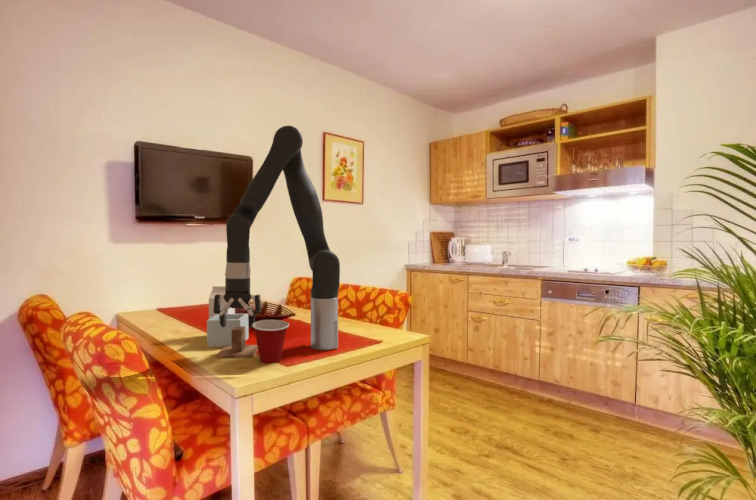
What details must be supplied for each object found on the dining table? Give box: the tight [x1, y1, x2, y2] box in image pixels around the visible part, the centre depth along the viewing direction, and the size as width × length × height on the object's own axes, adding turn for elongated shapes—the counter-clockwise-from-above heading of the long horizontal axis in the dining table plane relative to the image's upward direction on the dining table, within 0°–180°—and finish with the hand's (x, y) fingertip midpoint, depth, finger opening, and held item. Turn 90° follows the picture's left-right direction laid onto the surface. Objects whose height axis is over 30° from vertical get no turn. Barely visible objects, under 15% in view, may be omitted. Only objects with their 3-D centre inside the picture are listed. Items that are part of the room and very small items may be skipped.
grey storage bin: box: [206, 313, 250, 348], centre depth 140 cm, size 11×11×10 cm
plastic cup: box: [251, 319, 290, 364], centre depth 119 cm, size 11×11×12 cm
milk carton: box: [208, 285, 236, 319], centre depth 149 cm, size 7×7×19 cm
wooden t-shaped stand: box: [215, 327, 258, 359], centre depth 127 cm, size 11×11×8 cm
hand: (237, 326), depth 127 cm, fingers open, 8 cm apart
